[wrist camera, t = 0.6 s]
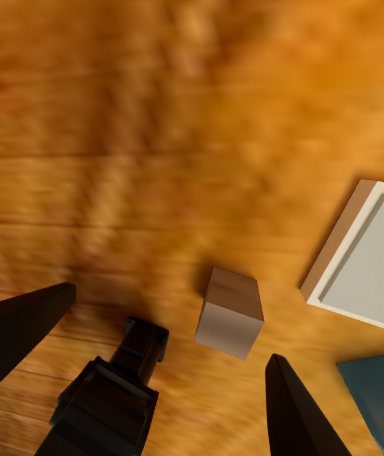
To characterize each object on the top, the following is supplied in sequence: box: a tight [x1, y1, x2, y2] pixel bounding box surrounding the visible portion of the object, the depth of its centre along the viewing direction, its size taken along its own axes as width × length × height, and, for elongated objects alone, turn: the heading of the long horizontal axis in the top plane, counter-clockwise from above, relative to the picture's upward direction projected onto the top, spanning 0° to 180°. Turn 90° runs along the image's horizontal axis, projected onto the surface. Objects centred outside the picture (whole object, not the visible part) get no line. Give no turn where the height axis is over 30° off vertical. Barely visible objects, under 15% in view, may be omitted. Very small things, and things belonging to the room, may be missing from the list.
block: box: [194, 267, 264, 360], centre depth 19 cm, size 5×5×6 cm
